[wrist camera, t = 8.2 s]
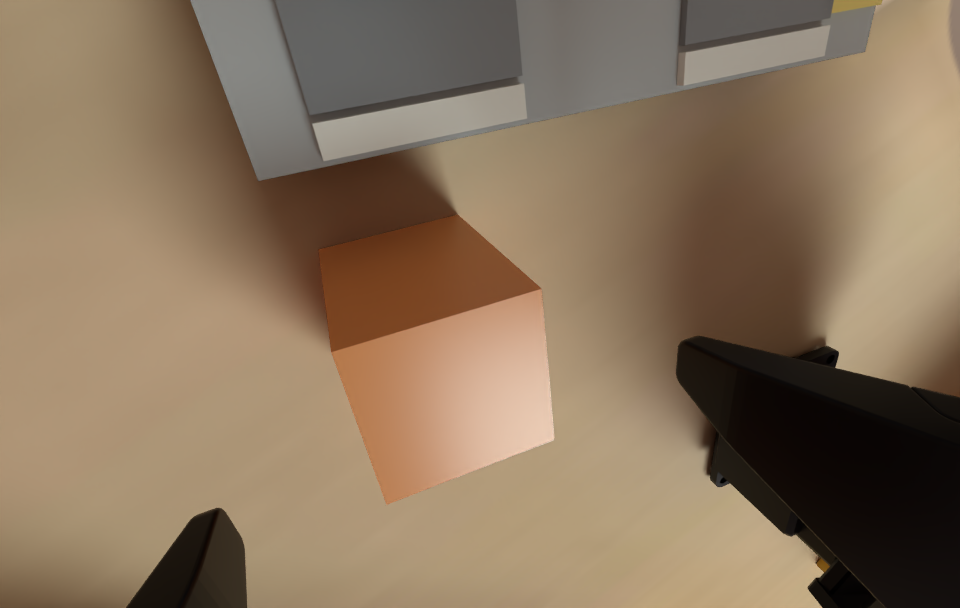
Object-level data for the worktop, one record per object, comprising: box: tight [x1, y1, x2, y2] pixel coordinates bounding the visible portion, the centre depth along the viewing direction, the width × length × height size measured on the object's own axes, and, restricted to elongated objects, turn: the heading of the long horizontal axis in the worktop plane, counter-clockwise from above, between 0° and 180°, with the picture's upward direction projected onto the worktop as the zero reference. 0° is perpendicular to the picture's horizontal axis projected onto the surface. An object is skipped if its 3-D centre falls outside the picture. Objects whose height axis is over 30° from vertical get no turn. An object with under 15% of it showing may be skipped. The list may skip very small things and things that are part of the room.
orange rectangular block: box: [318, 215, 555, 504], centre depth 12 cm, size 4×4×6 cm
